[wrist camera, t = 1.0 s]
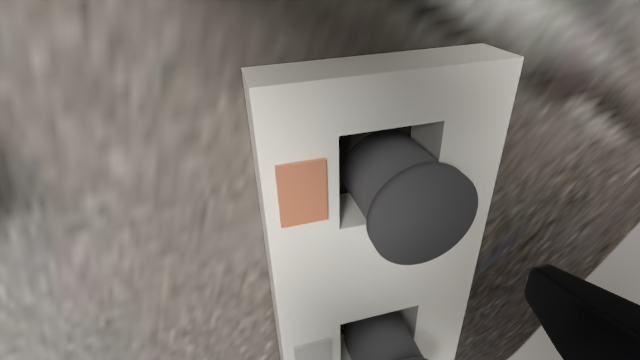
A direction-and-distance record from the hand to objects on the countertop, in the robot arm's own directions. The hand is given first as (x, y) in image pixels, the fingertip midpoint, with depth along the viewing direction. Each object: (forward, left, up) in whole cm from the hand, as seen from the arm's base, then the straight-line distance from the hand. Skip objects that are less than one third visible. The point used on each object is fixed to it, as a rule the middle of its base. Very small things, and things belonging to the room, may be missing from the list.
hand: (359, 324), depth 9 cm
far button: (-14, -5, -10) cm, 18 cm away
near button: (-2, -5, -10) cm, 11 cm away
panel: (-8, -5, -12) cm, 15 cm away
